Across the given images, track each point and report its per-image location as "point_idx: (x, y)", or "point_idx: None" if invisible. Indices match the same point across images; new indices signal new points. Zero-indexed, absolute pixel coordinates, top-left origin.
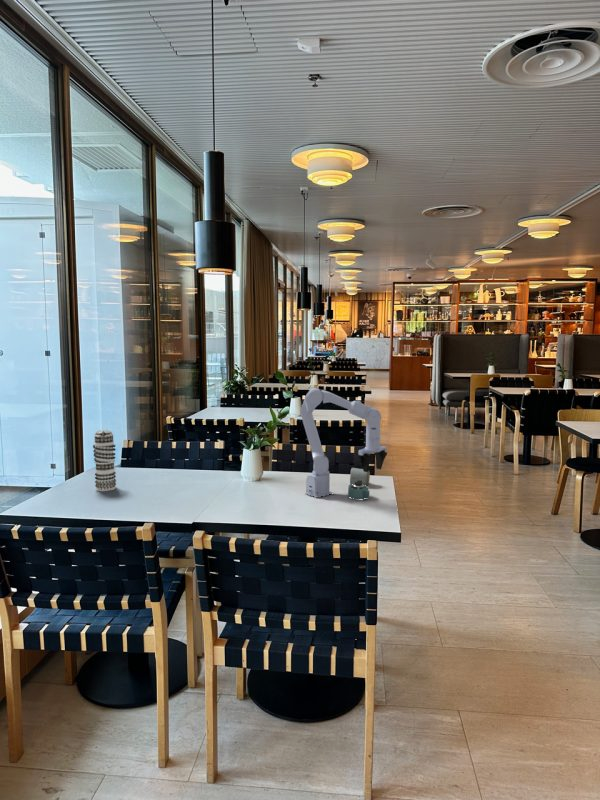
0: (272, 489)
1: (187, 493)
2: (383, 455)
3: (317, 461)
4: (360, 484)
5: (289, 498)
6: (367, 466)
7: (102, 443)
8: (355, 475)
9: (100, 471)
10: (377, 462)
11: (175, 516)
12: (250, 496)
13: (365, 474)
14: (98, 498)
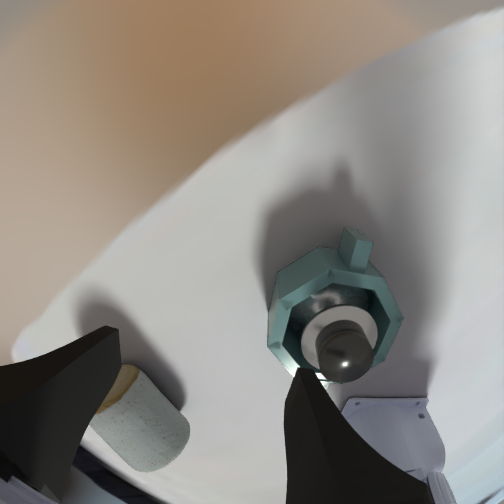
0: None
1: (460, 498)
2: (5, 402)
3: None
4: (355, 326)
5: (452, 429)
6: (334, 407)
7: None
8: (166, 435)
9: None
10: (91, 401)
11: None
12: (456, 467)
13: (124, 407)
14: (494, 496)
